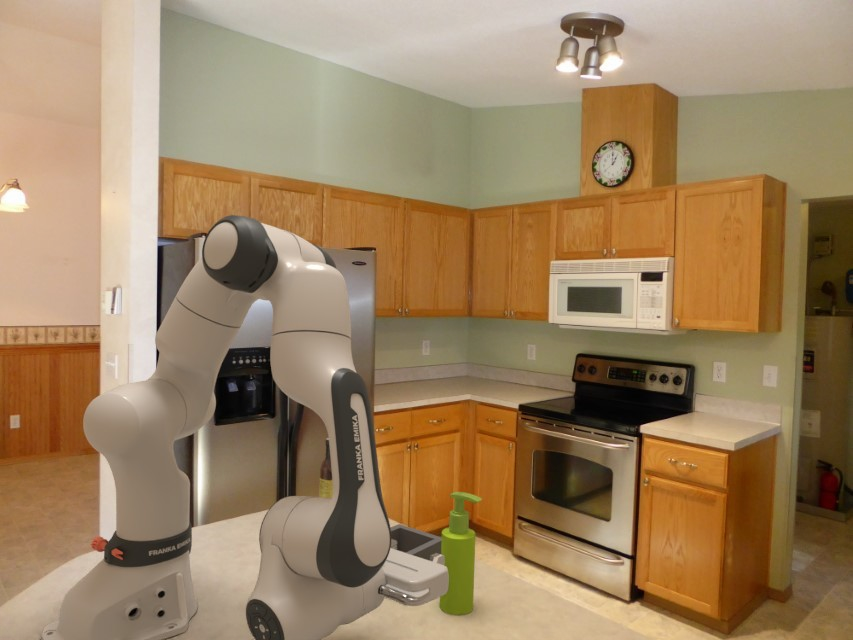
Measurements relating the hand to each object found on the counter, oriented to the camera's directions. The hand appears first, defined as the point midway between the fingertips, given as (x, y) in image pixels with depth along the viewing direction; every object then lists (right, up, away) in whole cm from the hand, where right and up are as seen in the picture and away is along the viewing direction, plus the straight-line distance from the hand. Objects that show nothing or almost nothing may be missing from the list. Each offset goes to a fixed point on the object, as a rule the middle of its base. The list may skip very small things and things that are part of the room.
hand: (416, 551), depth 95 cm
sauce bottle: (-21, -12, +50) cm, 56 cm away
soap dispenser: (+7, -14, +10) cm, 18 cm away
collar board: (-4, -13, +23) cm, 26 cm away
